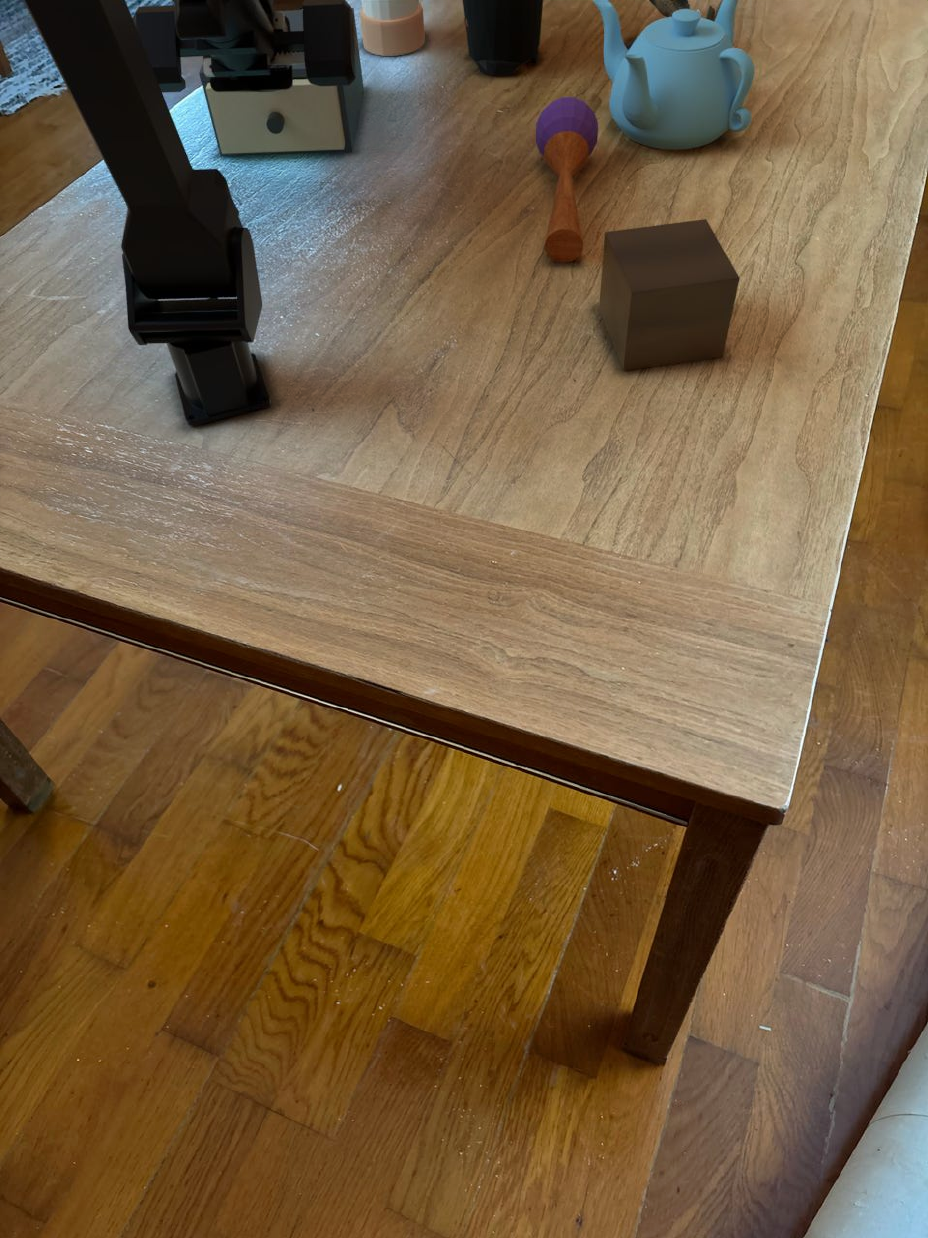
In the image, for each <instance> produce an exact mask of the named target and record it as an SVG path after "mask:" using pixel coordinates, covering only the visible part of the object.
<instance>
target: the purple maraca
mask: <svg viewBox="0 0 928 1238" xmlns="http://www.w3.org/2000/svg"><path fill="white" fill-rule="evenodd" d="M535 126H536V127H535V145H536V146H537V149H538V151H539V154H540V155H541V156H542V157H543V158H544V161H545V163H546V166H547V167H549V168H550V169H551V171H552V172H554V173H555V174H556V176H558V181H557V185H556V190H555V195H554V199H553V204H552V209H551V213H550V218H549V223H548V227H547V231H546V236H545V241H544V251H545V253H546V256H547V257H549V258H550V259H551V260H552V261H554V262H556V263H559V264H560V263H563V264H564V263H565V264H567V263H570V262H573V261H575V260H576V259H577V258H579V257H580V255H581V254H582V252H583V250H584V237H583V233H582V227H581V222H580V213H579V210H578V204H577V197H576V191H575V186H574V181H573V180H574V179H573V177H574V175H575V174H576V173H578V172H579V171H580V170H581V169H582V168H583V166H585V165H586V163H587V160H588V159H589V157H590V156H591V155H592V153H593V152H594V149H595V147H596V145H597V143H598V136H599V122H598V119H597V115H596V113H595V111H594V110H593V109H592V107H590V106H589V105H588V104H587V102H585V101H584V100H582V99H580V98H577V97H575V96H562V97H560V98H557V99H555V100H552V101H551V103H549V104H548V105H547V106H546V107H545V108H544V109H543V110H542V111H541V112H540V114H539V116H538V118H537V121H536V124H535Z"/></svg>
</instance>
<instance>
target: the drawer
mask: <svg viewBox="0 0 928 1238" xmlns="http://www.w3.org/2000/svg"><path fill="white" fill-rule="evenodd" d="M206 93H207V96H208V100H209V104H210V108H211V112H212V116H213V120H214V124H215V128H216V132H217V136H218V140H219V144H220V148H221V151H222V154H231V153H259V152H287V151H315V150H343V149H344V147H345V138H344V132H343V125H342V118H341V111H340V104H339V98H338V91H337V86H317V85H314V84H311V83H310V82H309V80H308V79H296V80H293V85H292V87H291V88H290V89H287V90H278V91H274V92H215V91H214V90H213V89H212V88H211V86H210V83H208V84H207V86H206Z"/></svg>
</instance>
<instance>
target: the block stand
mask: <svg viewBox="0 0 928 1238" xmlns="http://www.w3.org/2000/svg"><path fill="white" fill-rule="evenodd" d="M603 240H604V241H603V252H602V265H601V276H600V277H601V278H600V290H599V301H598V312H599V315H600V317H601V319H602V322H603V324H604V326H605V329H606V333H607V334H608V336H609V339H610V342H611V345H612V347H613V349H614V351H615V355H616V357H617V359H618V361H619V364H620V366H621V369H622V371H623V372H624V371H632V370H640V369H645V368H654V367H660V366H661V367H662V366H668V365H676V364H682V363H689V362H690V363H691V362H698V361H705V360H711V359H719V358H723V357H724V353H725V349H726V344H727V339H728V334H729V330H730V326H731V321H732V317H733V311H734V308H735V302H736V299H737V294H738V286H739V283H740V279H741V277H740V276H739V274H738V272H737V270H736V269H735V267H734V265H733V263H732V262H731V260H730V258H729V257H728V255H727V253H726V251H725V250H724V247H723V245H721V243H720V241H719V239H718V237H717V236H716V233H715V232H714V230H713V229H712V227H711V225H710V223H709V222H708V220H707V219H706V218H703V219H696V220H687V221H681V222H674V223H673V222H672V223H665V224H658V225H650V226H649V225H648V226H642V227H633V228H627V229H626V228H625V229H619V230H618V229H617V230H612V231H605V232H604V239H603Z"/></svg>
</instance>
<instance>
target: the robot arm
mask: <svg viewBox="0 0 928 1238" xmlns="http://www.w3.org/2000/svg"><path fill="white" fill-rule="evenodd" d="M171 1H172V2H173V4H169V5H168V4H167V5H166V4H165V5H146V6H138V7H137V9H136V11H135V12H134V14H133V15H132V14H131V11H130V9H129V6H128V4H127V1H126V0H22V2H23V3H24V5H25V7H26V9H27V11H28V13H29V16H30V17H31V19H32V21H33V23H34V25H35V27H36V29H37V31H38V33H39V35H40V37H41V39H42V41H43V43H44V45H45V47H46V48H47V51H48V53H49V55H50V57H51V59H52V60H53V62H54V64H55V66H56V68H57V70H58V72H59V74H60V77H61V79H62V80H63V82H64V84H65V86H66V88H67V91H68V92H69V94H70V96H71V98H72V100H73V103H74V104H75V106H76V108H77V110H78V112H79V115H80V116H81V118H82V120H83V122H84V124H85V126H86V128H87V130H88V133H89V134H90V136H91V138H92V140H93V142H94V144H95V146H96V148H97V150H98V152H99V154H100V156H101V158H102V160H103V162H104V164H105V166H106V168H107V170H108V171H109V173H110V176H111V178H112V180H113V181H114V183H115V186H116V188H117V190H118V192H119V194H120V196H121V197H122V199H123V201H124V204H125V206H126V208H127V209H126V215H125V221H124V222H125V223H124V225H123V231H122V232H123V233H122V238H121V243H120V249H121V251H122V254H121V260H122V268H123V276H124V285H125V297H126V314H127V315H126V317H127V328H128V331H129V333H130V334H131V336H132V337H133V339H134V340H135V343H137V344H138V346H148V345H149V344H150V345H153V344H157V345H158V344H166V346H167V349H168V352H169V354H170V357H171V360H172V363H173V365H174V368H175V373H174V376H175V381H176V385H177V389H178V394H179V397H180V402H181V406H182V410H183V414H184V419H185V422H186V424H187V426H191V427H194V426H198V425H202V424H207V423H210V422H214V421H218V420H223V419H227V418H230V417H234V416H237V415H241V414H245V413H249V412H254V411H258V410H261V409H265V408H268V407H269V406H271V403H272V401H271V398H270V395H269V391H268V389H267V386H266V383H265V380H264V378H263V377H264V376H263V374H262V371H261V368H260V365H259V361H258V359H257V355H256V354H255V353H253V352H251V349H250V346H249V343H254V341H255V337H256V333H257V329H258V325H259V322H260V318H261V314H262V310H263V300H262V294H261V293H262V292H261V283H260V278H259V271H258V266H257V258H256V253H255V245H254V240H253V237H252V235H251V231H250V230H249V228H248V227H245V226H243V223H242V220H241V219H240V211H239V209H238V207H237V206H236V204H235V202H234V200H233V197H232V194H231V191H230V188H229V184H228V181H227V178H226V177H225V176H224V175H223V174H222V173H221V171H220V170H219V169H218V168H204V169H203V168H201V169H200V168H199V169H194V168H193V166H192V164H191V161H190V159H189V156H188V154H187V151H186V149H185V146H184V144H183V142H182V139H181V137H180V134H179V131H178V129H177V126H176V124H175V121H174V119H173V117H172V114H171V111H170V109H169V107H168V105H167V101H166V99H165V96H164V93H181V92H183V91H184V90H185V89H186V88H187V87H186V79H185V78H184V77H183V73H182V58H192V57H194V58H196V57H202V62H203V63H202V65H204V74H205V75H206V76H207V77H210V86H211V88H212V89H213V90H214V91H215V92H274V91H278V90H287V89H290V88H291V87H292V85H293V71H292V65H305V68H306V73H307V78H308V80H309V82H310V83H311V84H314V85H317V86H346V85H350V84H351V83H352V82H353V81H354V80H355V78H356V73H355V41H354V17H355V16H354V15H355V14H354V15H353V12H352V9H351V8H352V6H351V5H350V4H349V3H348V1H347V0H303V2H302V8H301V10H303V31H291V28H290V22H289V19H288V18H287V17H286V16H285V15H284V13H283V12H282V11H283V10H275V8H274V7H275V6H274V5H275V4H274V0H171ZM297 52H299V54H298V53H297ZM302 52H304V54H302ZM293 53H295V54H294V55H293Z"/></svg>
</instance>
